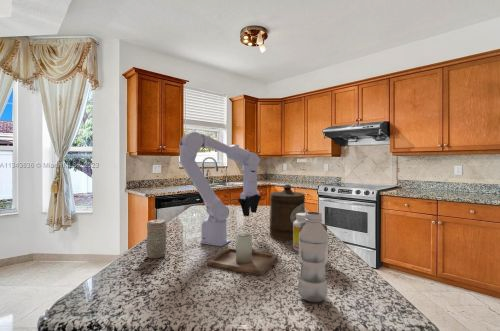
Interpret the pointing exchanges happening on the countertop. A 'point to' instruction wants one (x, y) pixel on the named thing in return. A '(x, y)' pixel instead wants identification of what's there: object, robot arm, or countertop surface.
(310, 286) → the plastic bottle
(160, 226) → the carving
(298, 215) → the supplement bottle
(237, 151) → the robot arm
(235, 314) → the countertop surface
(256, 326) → the countertop surface
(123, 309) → the countertop surface
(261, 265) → the tray
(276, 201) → the wooden container
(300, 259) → the jar
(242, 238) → the cup
